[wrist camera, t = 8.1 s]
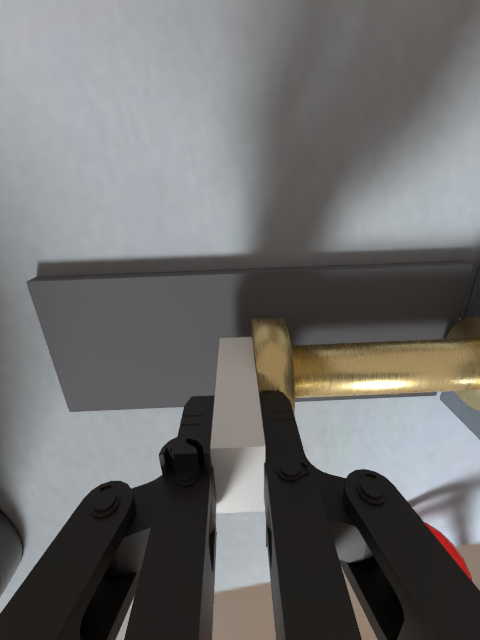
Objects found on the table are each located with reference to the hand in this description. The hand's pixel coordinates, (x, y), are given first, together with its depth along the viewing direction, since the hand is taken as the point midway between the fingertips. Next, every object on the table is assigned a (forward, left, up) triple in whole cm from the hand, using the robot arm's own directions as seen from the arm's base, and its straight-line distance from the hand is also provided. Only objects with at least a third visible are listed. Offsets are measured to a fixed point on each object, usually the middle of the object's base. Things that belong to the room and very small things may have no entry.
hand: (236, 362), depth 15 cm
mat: (+1, 0, -3) cm, 3 cm away
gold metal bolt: (+11, 0, -3) cm, 11 cm away
